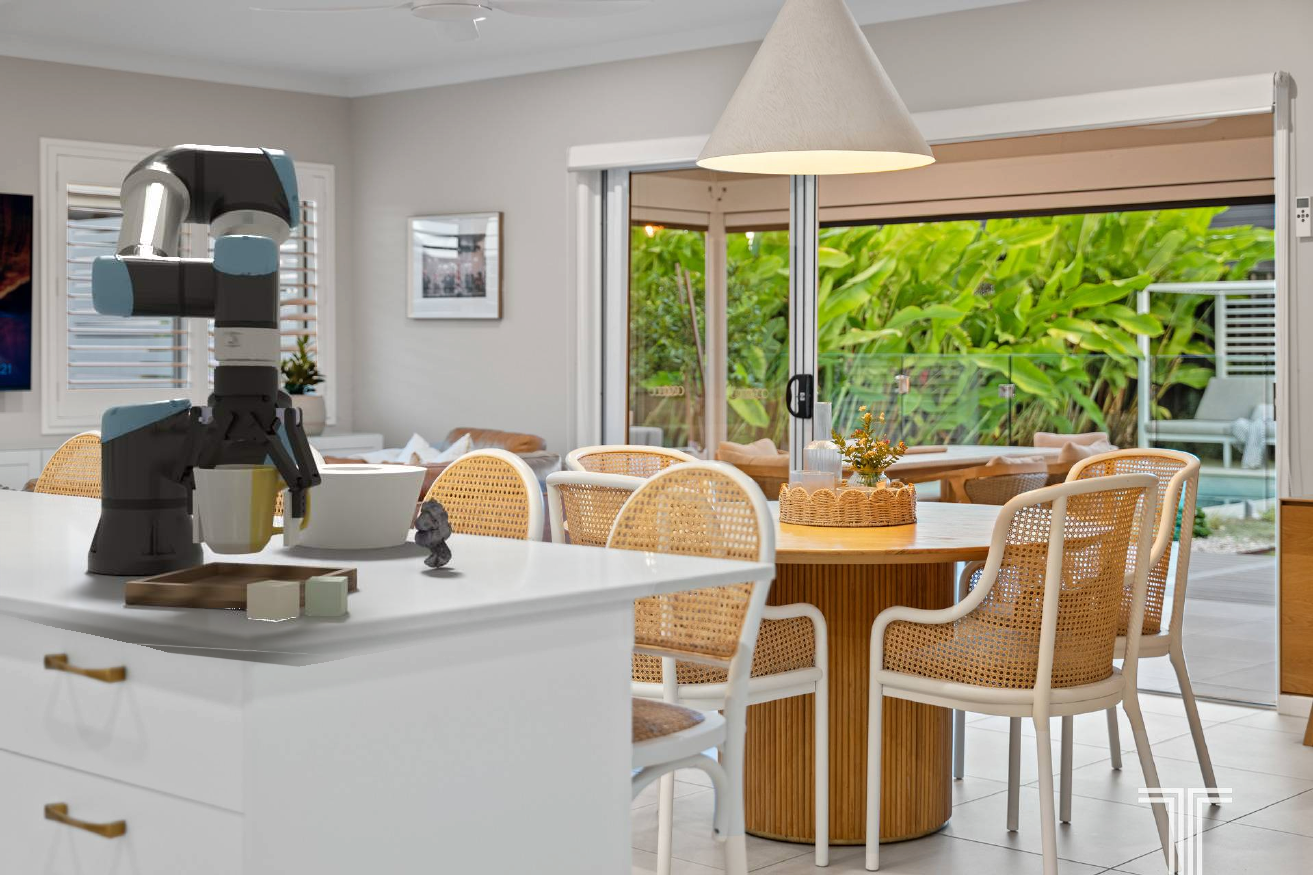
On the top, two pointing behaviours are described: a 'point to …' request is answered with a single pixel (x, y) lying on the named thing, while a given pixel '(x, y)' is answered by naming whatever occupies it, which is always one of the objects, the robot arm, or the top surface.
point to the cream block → (273, 600)
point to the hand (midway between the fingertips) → (246, 543)
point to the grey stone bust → (433, 533)
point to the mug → (240, 506)
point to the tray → (223, 584)
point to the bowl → (362, 506)
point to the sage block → (326, 596)
